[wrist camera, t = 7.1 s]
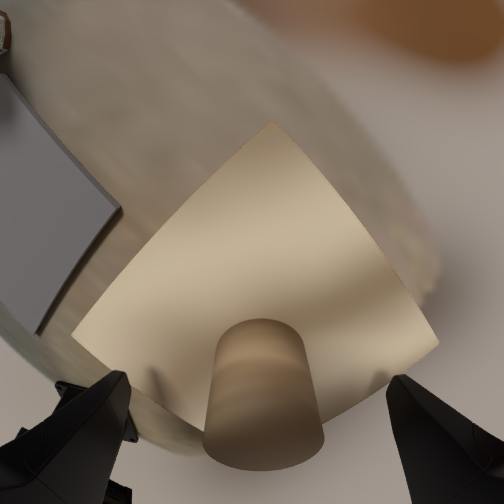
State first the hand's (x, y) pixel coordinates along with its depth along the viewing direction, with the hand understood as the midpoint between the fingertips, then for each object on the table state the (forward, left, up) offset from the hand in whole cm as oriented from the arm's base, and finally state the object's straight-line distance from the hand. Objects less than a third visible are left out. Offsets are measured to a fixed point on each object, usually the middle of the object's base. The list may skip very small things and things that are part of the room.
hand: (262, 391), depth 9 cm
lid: (0, 0, -3) cm, 3 cm away
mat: (+4, +16, -7) cm, 18 cm away
